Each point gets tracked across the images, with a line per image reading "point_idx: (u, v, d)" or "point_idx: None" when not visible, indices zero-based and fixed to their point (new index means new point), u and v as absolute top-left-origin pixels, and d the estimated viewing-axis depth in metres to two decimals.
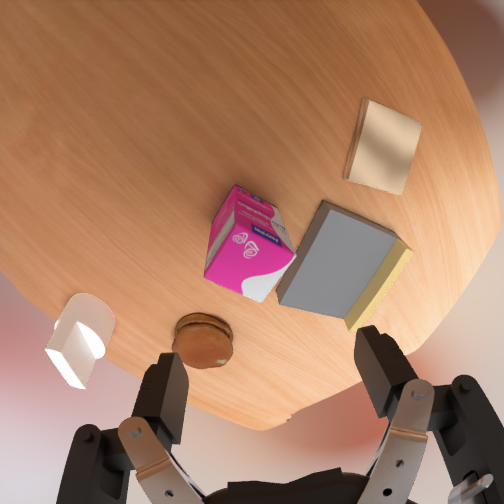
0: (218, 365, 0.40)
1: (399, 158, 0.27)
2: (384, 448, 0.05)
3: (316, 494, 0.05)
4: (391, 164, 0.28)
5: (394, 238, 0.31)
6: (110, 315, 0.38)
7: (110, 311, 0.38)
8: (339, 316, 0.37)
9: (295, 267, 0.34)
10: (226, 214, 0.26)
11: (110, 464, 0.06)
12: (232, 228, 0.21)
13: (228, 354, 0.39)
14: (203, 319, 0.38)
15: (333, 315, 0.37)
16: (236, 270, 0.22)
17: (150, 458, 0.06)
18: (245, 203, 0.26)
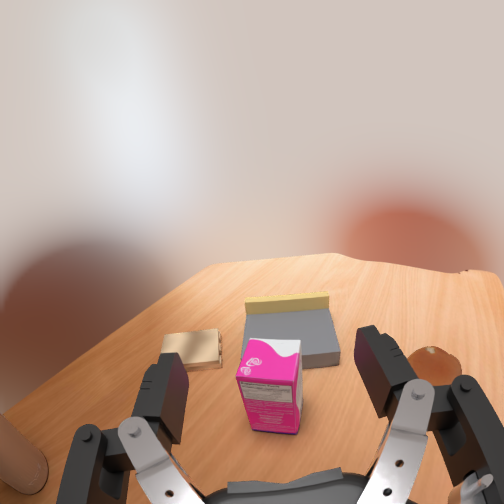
0: (436, 349, 0.30)
1: (192, 338, 0.44)
2: (384, 448, 0.05)
3: (316, 494, 0.05)
4: (198, 341, 0.43)
5: (247, 315, 0.46)
6: None
7: None
8: (328, 311, 0.44)
9: (303, 360, 0.36)
10: (259, 409, 0.26)
11: (110, 464, 0.06)
12: (242, 379, 0.24)
13: (418, 351, 0.31)
14: None
15: (329, 315, 0.43)
16: (275, 363, 0.25)
17: (150, 458, 0.06)
18: None
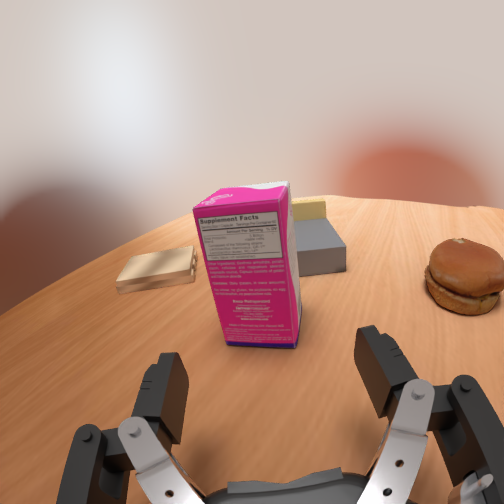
0: (466, 239, 0.23)
1: (161, 255, 0.36)
2: (384, 448, 0.05)
3: (316, 494, 0.05)
4: (168, 257, 0.36)
5: None
6: None
7: None
8: (325, 220, 0.37)
9: (298, 260, 0.29)
10: (232, 285, 0.18)
11: (110, 464, 0.06)
12: (201, 213, 0.17)
13: (444, 241, 0.24)
14: (437, 290, 0.21)
15: (327, 222, 0.36)
16: (251, 193, 0.18)
17: (150, 458, 0.06)
18: None
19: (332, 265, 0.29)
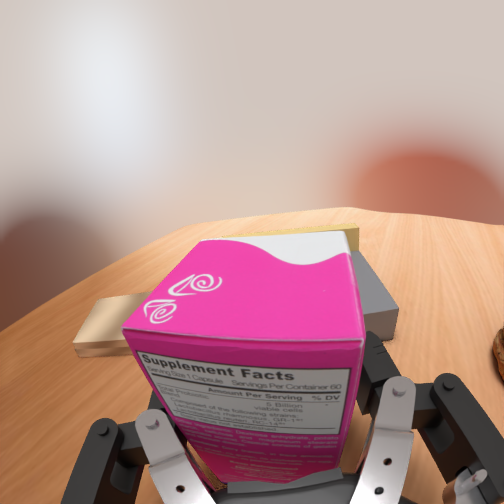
0: None
1: (134, 303, 0.25)
2: (370, 448, 0.05)
3: (316, 494, 0.05)
4: None
5: None
6: None
7: None
8: (358, 254, 0.26)
9: None
10: (227, 449, 0.08)
11: (124, 459, 0.07)
12: (142, 343, 0.06)
13: None
14: None
15: (362, 259, 0.25)
16: (272, 285, 0.07)
17: (165, 452, 0.06)
18: None
19: (376, 334, 0.18)
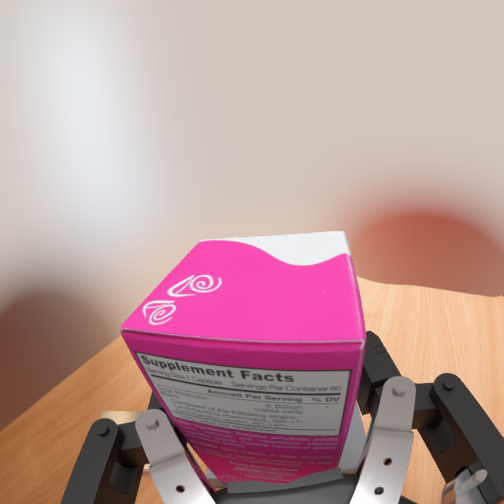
0: None
1: None
2: (370, 448, 0.05)
3: (316, 494, 0.05)
4: None
5: None
6: None
7: None
8: None
9: None
10: (227, 450, 0.08)
11: (124, 459, 0.07)
12: (142, 344, 0.06)
13: None
14: None
15: None
16: (271, 285, 0.07)
17: (165, 452, 0.06)
18: None
19: None
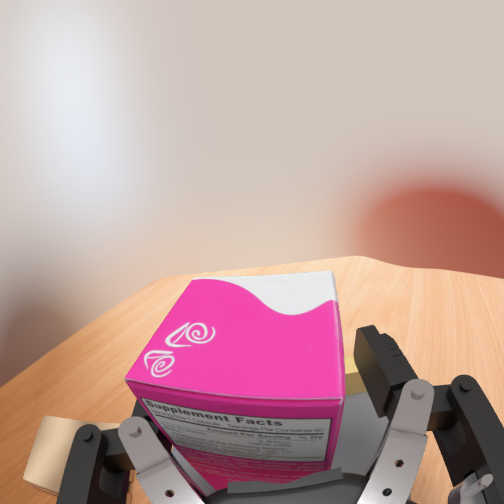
0: None
1: None
2: (384, 448, 0.05)
3: (316, 494, 0.05)
4: None
5: None
6: None
7: None
8: None
9: None
10: (225, 470, 0.08)
11: (110, 464, 0.06)
12: (146, 392, 0.06)
13: None
14: None
15: None
16: (261, 338, 0.07)
17: (150, 458, 0.06)
18: None
19: None
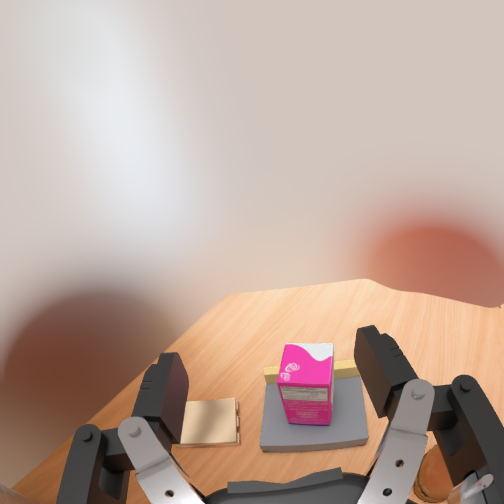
0: None
1: (207, 410, 0.36)
2: (384, 448, 0.05)
3: (316, 494, 0.05)
4: (213, 414, 0.36)
5: (267, 385, 0.38)
6: None
7: None
8: (358, 381, 0.34)
9: (327, 445, 0.28)
10: (296, 407, 0.28)
11: (110, 464, 0.06)
12: (282, 384, 0.26)
13: None
14: (416, 487, 0.18)
15: (360, 386, 0.34)
16: (311, 368, 0.26)
17: (150, 458, 0.06)
18: None
19: (354, 444, 0.27)
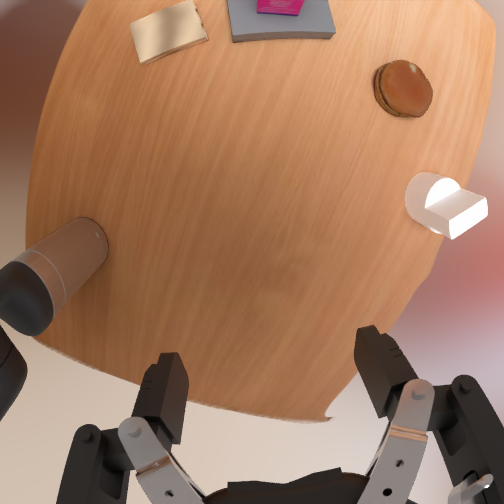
0: (418, 70, 0.28)
1: (165, 18, 0.26)
2: (384, 448, 0.05)
3: (316, 494, 0.05)
4: (173, 19, 0.26)
5: None
6: (417, 176, 0.37)
7: (414, 177, 0.38)
8: None
9: (297, 33, 0.28)
10: None
11: (110, 464, 0.06)
12: None
13: (402, 63, 0.28)
14: (378, 92, 0.32)
15: None
16: None
17: (150, 458, 0.06)
18: None
19: (321, 36, 0.29)
